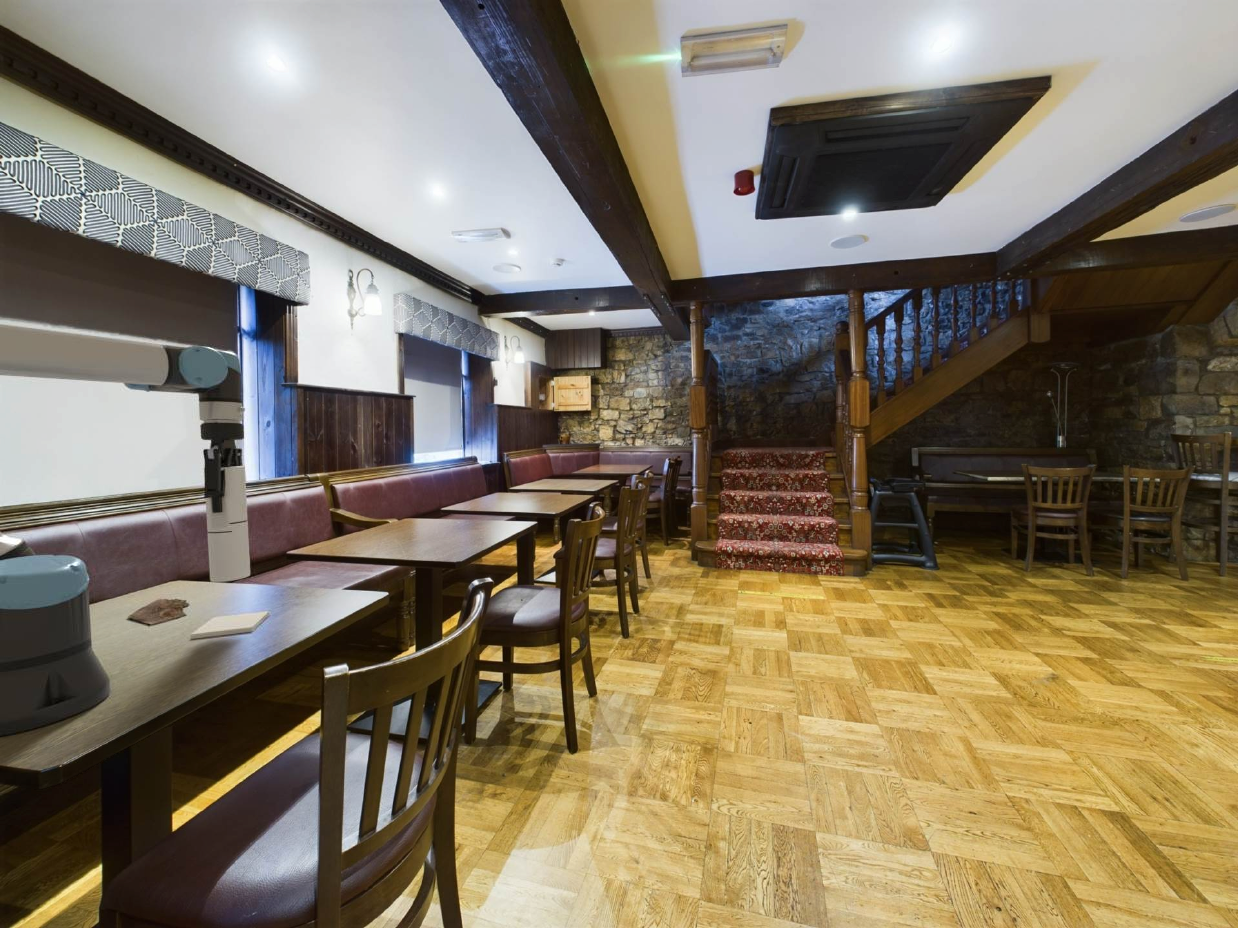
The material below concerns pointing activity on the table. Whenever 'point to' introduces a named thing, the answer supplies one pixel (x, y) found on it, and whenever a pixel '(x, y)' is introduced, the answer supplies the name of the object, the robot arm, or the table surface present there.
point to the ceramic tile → (230, 625)
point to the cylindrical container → (230, 531)
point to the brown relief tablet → (160, 611)
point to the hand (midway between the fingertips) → (227, 524)
